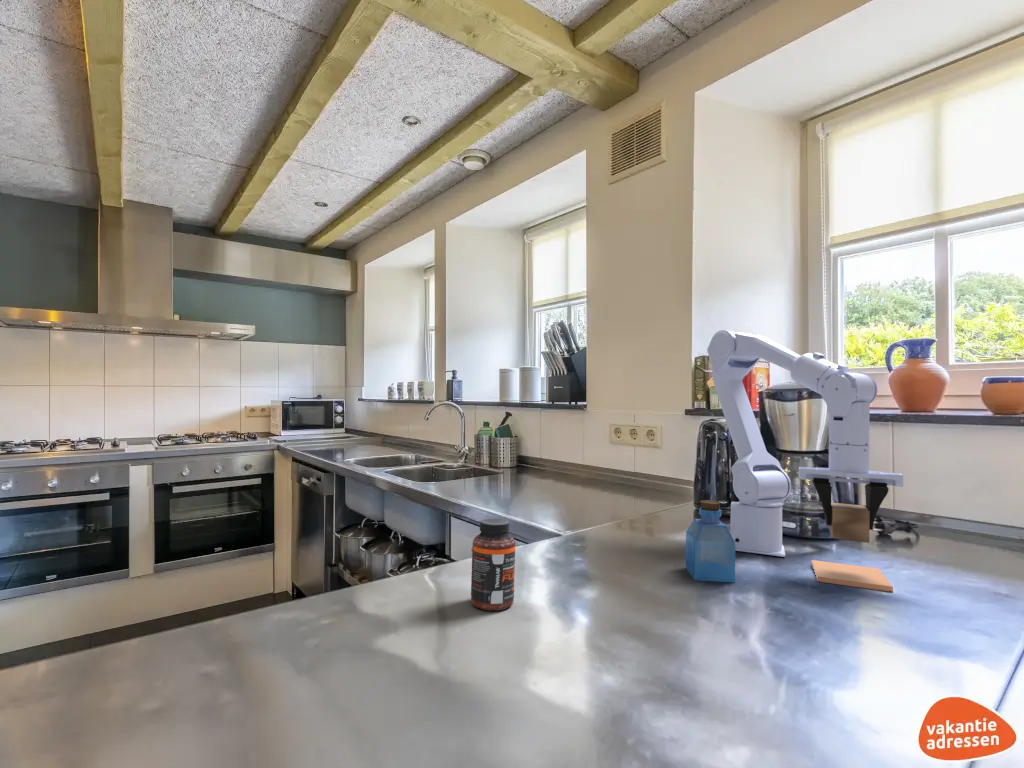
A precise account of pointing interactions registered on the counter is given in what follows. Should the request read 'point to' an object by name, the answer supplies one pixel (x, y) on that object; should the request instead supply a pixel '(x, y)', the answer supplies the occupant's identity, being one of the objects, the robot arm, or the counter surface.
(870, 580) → the plate
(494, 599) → the supplement bottle
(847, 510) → the cube
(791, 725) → the counter surface
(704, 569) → the perfume bottle
